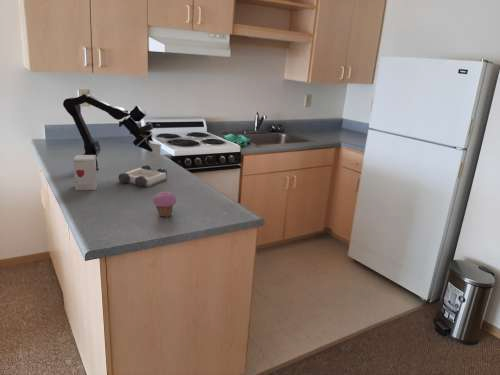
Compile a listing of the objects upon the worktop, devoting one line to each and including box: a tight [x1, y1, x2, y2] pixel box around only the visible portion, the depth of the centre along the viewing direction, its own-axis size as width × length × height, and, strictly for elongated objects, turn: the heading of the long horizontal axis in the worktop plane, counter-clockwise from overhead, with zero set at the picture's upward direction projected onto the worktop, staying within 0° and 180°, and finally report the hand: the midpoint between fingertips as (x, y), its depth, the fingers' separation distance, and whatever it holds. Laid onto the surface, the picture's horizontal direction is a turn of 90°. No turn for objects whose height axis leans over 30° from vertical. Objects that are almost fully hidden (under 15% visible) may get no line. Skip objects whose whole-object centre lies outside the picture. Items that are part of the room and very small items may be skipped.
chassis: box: [118, 164, 168, 188], centre depth 206 cm, size 20×17×5 cm
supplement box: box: [73, 154, 98, 191], centre depth 188 cm, size 9×9×15 cm
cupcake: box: [152, 191, 177, 217], centre depth 162 cm, size 9×9×10 cm
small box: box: [145, 140, 162, 165], centre depth 216 cm, size 8×6×10 cm
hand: (154, 149), depth 215 cm, fingers closed on small box, 9 cm apart
